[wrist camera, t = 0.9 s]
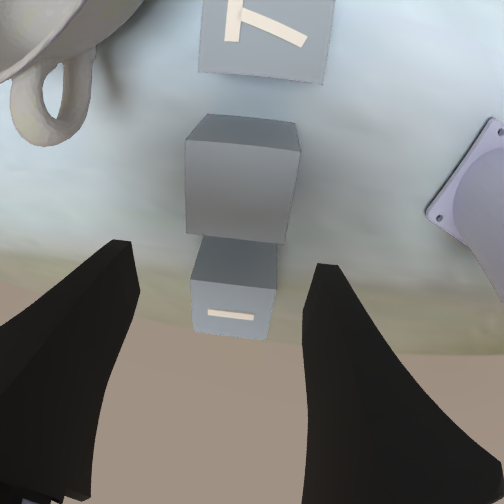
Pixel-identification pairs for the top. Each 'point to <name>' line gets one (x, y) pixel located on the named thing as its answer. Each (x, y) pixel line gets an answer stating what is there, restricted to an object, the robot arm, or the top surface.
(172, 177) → the top surface
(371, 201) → the top surface
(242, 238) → the plain block
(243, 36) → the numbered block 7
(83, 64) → the teacup
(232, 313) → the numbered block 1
